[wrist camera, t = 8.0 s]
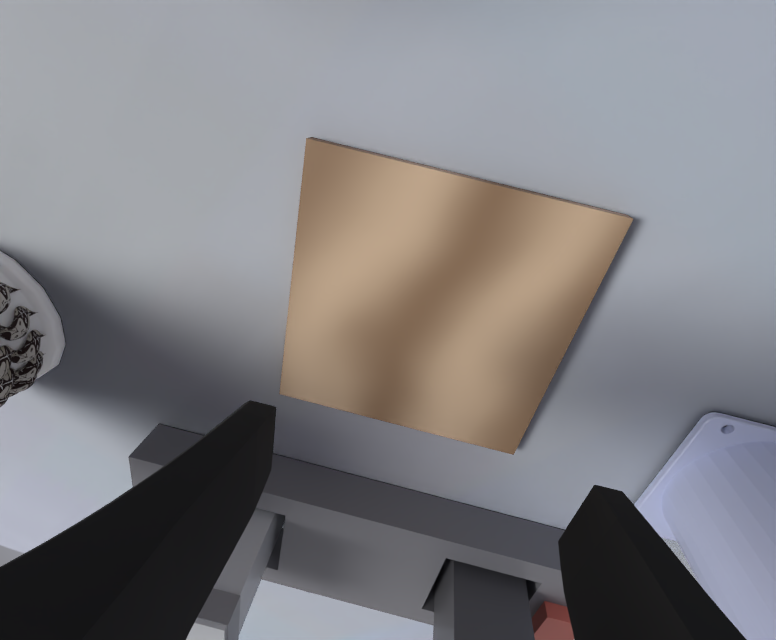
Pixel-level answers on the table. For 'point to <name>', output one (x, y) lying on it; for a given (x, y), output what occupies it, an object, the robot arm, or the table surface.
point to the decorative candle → (25, 330)
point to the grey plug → (238, 580)
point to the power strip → (385, 538)
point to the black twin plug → (480, 604)
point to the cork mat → (435, 293)
